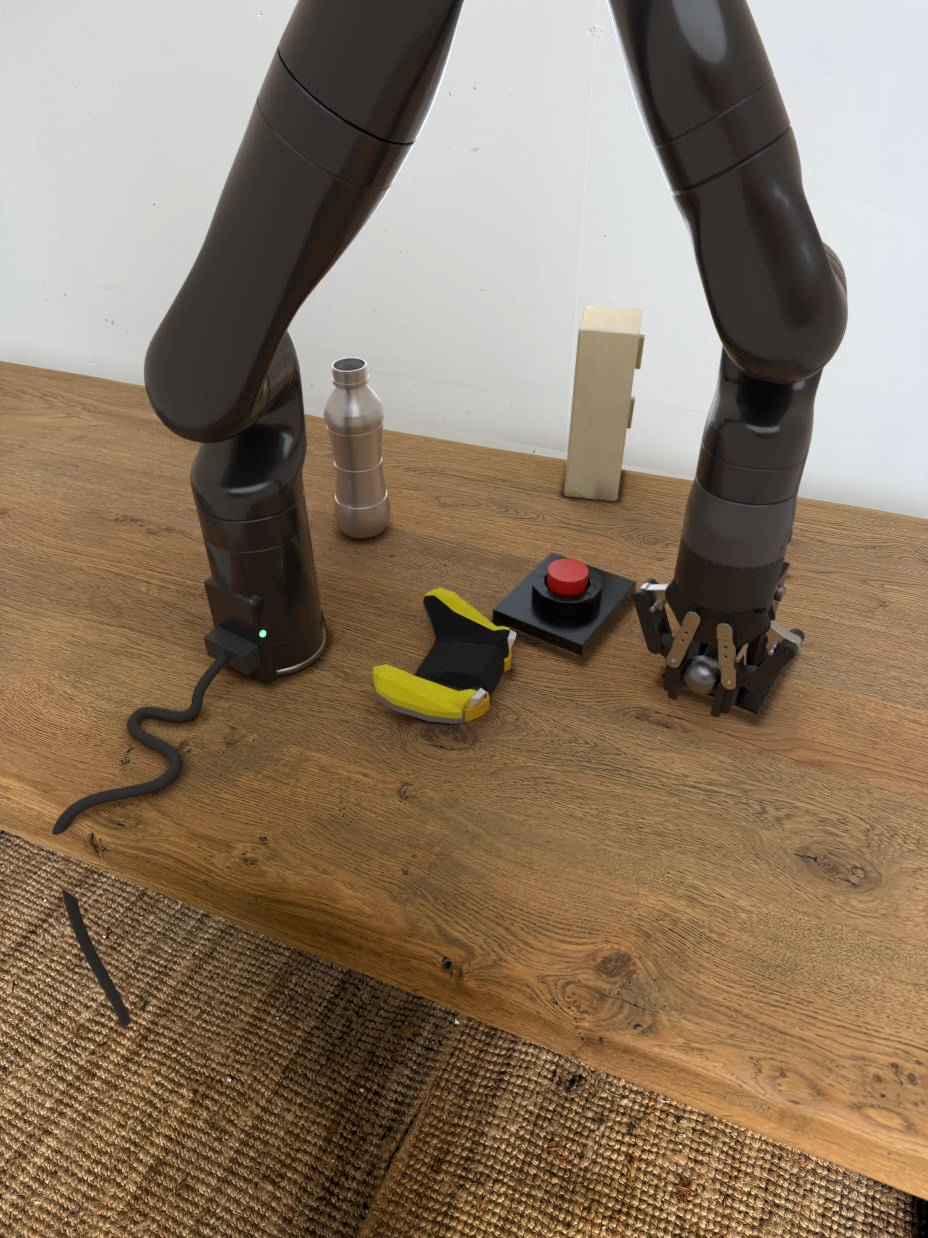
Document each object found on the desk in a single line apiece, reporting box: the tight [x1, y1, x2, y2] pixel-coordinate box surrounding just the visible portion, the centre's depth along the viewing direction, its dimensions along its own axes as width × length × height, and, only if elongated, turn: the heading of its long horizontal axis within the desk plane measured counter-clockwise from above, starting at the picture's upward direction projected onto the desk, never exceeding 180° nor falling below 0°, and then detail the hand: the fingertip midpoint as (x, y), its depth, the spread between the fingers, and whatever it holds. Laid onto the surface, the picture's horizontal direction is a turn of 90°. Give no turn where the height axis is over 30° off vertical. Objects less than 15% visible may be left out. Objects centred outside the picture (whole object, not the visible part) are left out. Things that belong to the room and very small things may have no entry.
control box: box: [492, 551, 637, 657], centre depth 87 cm, size 12×10×4 cm
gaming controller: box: [371, 587, 517, 725], centre depth 79 cm, size 15×6×10 cm
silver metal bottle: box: [323, 357, 392, 539], centre depth 95 cm, size 6×7×20 cm
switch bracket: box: [661, 560, 791, 715], centre depth 78 cm, size 11×9×12 cm
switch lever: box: [683, 645, 721, 695], centre depth 74 cm, size 13×3×3 cm, turn 147°
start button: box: [547, 558, 589, 595], centre depth 86 cm, size 4×4×2 cm
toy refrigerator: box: [563, 304, 646, 502], centre depth 102 cm, size 8×7×21 cm
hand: (697, 701), depth 74 cm, fingers closed on switch lever, 3 cm apart
